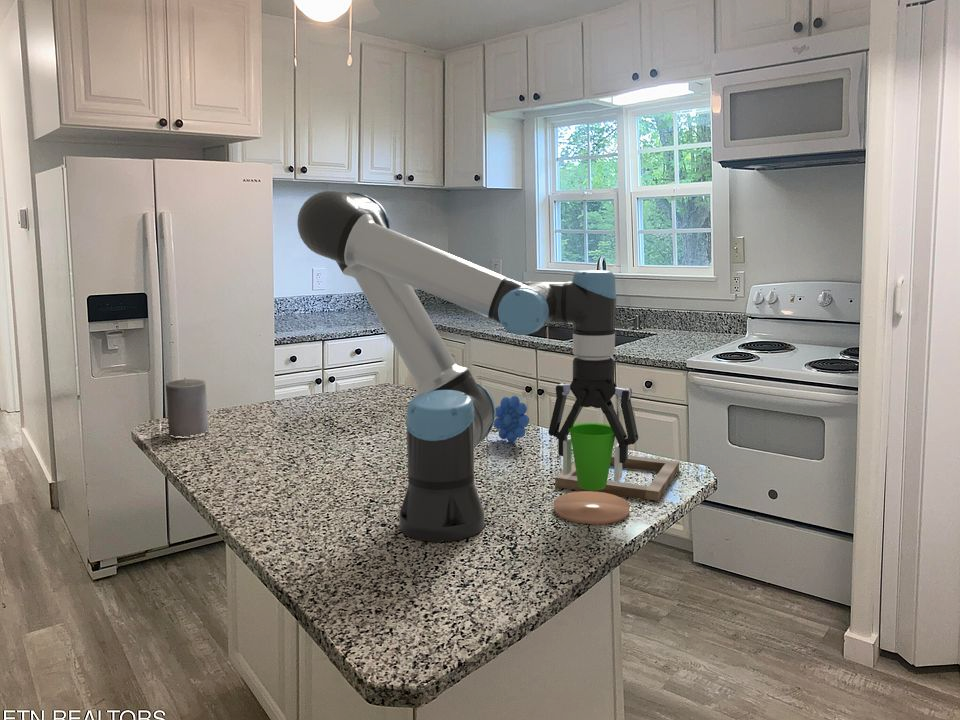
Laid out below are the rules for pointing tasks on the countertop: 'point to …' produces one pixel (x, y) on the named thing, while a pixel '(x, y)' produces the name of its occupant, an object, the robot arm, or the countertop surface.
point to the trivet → (591, 507)
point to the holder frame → (626, 489)
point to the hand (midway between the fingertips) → (592, 475)
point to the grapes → (511, 419)
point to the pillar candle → (187, 407)
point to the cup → (592, 453)
